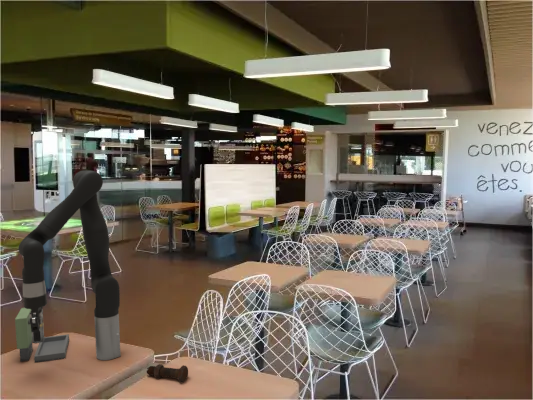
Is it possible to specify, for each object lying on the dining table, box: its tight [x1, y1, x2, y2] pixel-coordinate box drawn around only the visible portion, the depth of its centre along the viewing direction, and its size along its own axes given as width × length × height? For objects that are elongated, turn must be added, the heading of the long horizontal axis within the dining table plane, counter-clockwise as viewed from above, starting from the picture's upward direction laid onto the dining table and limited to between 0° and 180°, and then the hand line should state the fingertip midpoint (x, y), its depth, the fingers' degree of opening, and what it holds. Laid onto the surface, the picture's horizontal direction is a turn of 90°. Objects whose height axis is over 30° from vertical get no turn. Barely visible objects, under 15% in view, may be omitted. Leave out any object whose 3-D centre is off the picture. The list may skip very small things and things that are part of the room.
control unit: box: [14, 307, 34, 363], centre depth 186 cm, size 5×14×18 cm, turn 19°
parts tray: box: [33, 334, 70, 363], centre depth 192 cm, size 11×20×2 cm, turn 19°
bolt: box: [146, 363, 189, 383], centre depth 167 cm, size 6×5×15 cm
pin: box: [32, 320, 45, 344], centre depth 169 cm, size 4×4×7 cm
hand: (38, 338), depth 169 cm, fingers closed on pin, 4 cm apart
